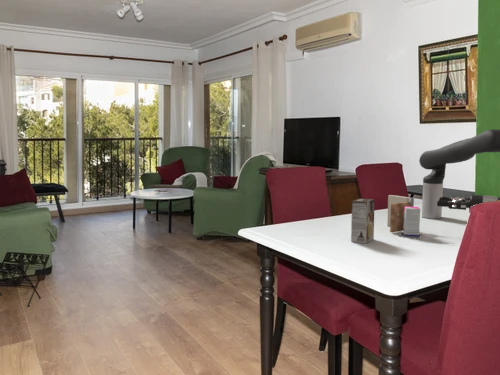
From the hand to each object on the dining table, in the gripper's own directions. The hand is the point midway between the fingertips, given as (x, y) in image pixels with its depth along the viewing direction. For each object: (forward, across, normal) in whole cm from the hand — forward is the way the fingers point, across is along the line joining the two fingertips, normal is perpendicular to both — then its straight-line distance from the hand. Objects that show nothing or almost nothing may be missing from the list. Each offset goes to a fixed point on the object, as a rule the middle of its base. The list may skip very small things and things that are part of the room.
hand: (438, 201), depth 183 cm
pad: (+10, +3, +14) cm, 18 cm away
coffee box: (+25, +21, +15) cm, 36 cm away
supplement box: (+9, +3, +14) cm, 17 cm away
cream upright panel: (+16, -11, +15) cm, 24 cm away
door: (+14, -2, +14) cm, 20 cm away
